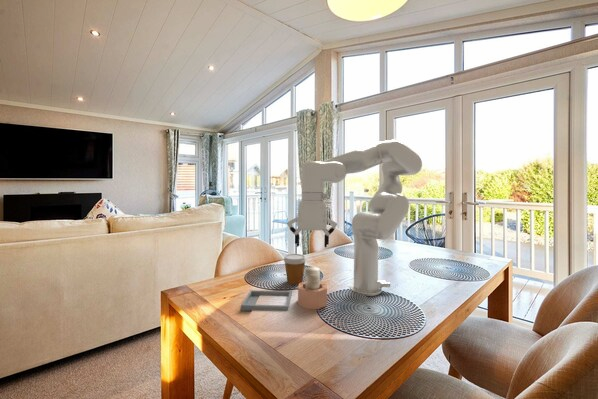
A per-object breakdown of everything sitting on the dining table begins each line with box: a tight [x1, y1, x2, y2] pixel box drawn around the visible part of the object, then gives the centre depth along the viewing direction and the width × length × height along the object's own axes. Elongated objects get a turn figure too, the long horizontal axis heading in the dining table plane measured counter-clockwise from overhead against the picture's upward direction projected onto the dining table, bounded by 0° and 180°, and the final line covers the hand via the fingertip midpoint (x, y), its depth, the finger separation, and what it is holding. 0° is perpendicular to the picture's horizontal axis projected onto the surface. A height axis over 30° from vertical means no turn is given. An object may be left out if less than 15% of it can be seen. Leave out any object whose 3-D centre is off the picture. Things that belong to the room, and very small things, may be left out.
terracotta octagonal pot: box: [297, 280, 328, 310], centre depth 101 cm, size 10×10×7 cm
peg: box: [305, 266, 321, 290], centre depth 100 cm, size 5×5×12 cm
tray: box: [240, 289, 293, 313], centre depth 102 cm, size 16×13×2 cm
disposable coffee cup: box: [283, 253, 307, 286], centre depth 121 cm, size 10×10×12 cm
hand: (311, 246), depth 99 cm, fingers open, 9 cm apart
